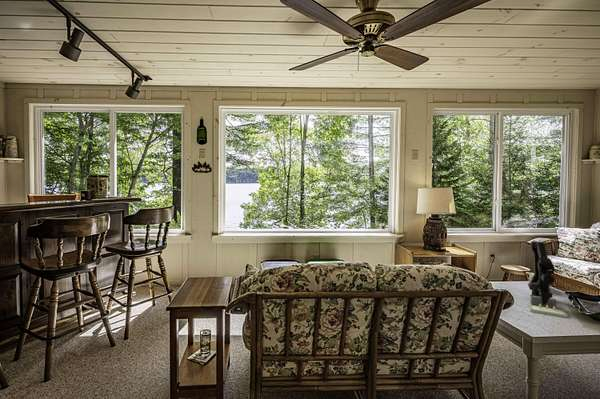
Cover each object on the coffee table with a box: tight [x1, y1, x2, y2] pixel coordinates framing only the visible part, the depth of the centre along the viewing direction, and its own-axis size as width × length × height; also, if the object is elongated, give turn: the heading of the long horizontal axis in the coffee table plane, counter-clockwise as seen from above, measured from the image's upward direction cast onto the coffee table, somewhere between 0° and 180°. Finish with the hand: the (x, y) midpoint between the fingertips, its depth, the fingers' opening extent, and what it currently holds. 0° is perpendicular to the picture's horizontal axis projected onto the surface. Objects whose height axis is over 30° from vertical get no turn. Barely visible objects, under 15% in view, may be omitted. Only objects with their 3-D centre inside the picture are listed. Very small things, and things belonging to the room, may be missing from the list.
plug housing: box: [529, 294, 558, 309], centre depth 210 cm, size 5×13×5 cm, turn 62°
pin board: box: [527, 304, 568, 319], centre depth 198 cm, size 9×18×4 cm, turn 62°
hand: (542, 303), depth 210 cm, fingers closed on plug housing, 5 cm apart
